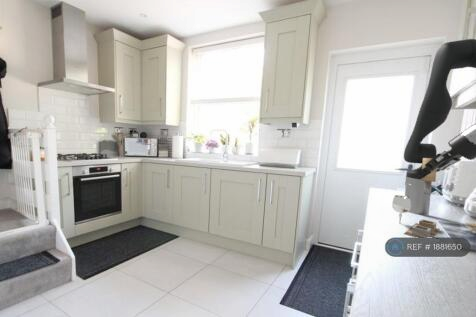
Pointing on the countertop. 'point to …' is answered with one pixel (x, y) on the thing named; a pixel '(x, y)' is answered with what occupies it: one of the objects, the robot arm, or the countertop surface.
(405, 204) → the wineglass
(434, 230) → the plank
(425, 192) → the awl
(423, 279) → the countertop surface
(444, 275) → the countertop surface
